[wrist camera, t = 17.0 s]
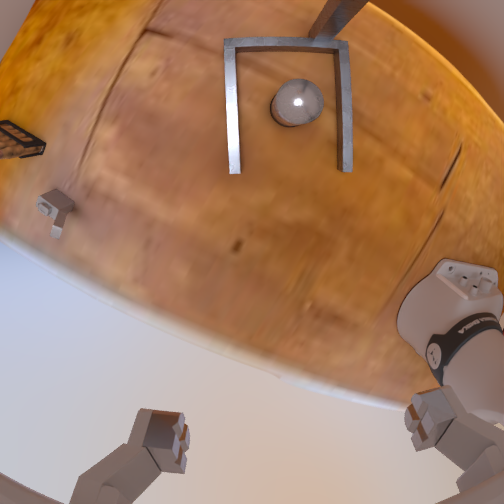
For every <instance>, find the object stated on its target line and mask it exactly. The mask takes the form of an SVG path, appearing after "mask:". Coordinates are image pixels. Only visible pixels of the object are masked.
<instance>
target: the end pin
mask: <svg viewBox="0 0 504 504" xmlns="http://www.w3.org/2000/svg"><path fill="white" fill-rule="evenodd" d="M323 106H324V100H323V95H322V93H321V91H320V90H319V88H318V87H317V86H316V85H315V84H313V83H312V82H310V81H308V80H304V79H293V80H290V81H288V82H286V83H285V84H283V85H282V86H281V88H280V89H279V91H278V92H277V94H276V95H275V96H274V98H273V99H272V101H271V104H270V113H271V116H272V118H273V119H274V120H275V121H276V122H277V123H278V124H280V125H282V126H284V127H295V126H298V125H300V124H305V123H309V122H312V121H313V120H315V119H316V118H317V117H318V116H319V115H320V114H321V112H322V110H323Z"/></svg>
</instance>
